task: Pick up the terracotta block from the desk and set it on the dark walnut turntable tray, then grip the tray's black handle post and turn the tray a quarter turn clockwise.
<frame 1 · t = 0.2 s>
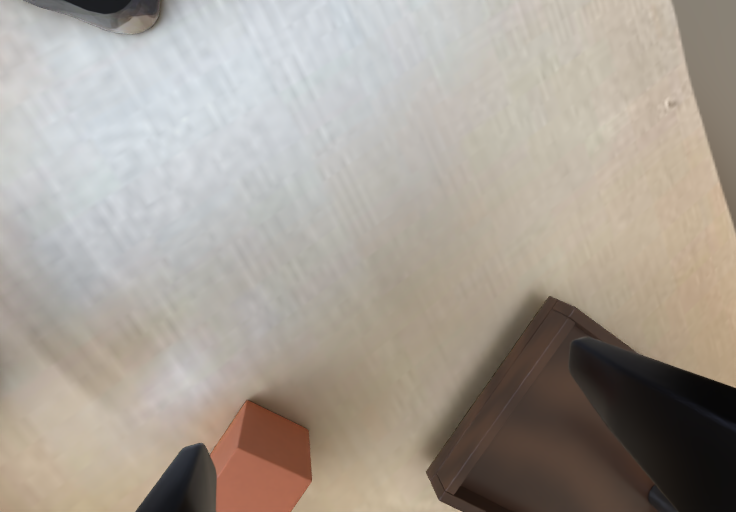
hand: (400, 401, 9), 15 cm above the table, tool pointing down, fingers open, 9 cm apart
block: (259, 443, 25), on the table
tray: (640, 492, 24), point 6 cm above the table, hinge at 0.0°
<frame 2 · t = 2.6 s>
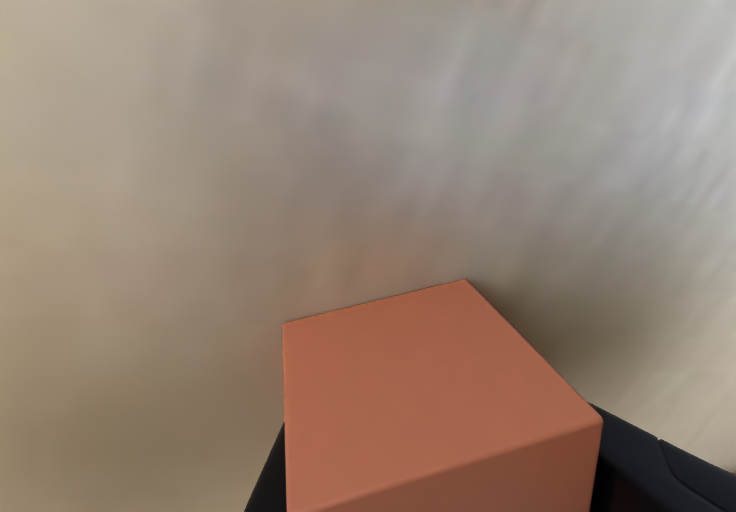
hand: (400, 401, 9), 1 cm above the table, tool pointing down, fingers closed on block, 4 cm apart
block: (388, 372, 10), on the table, touching gripper
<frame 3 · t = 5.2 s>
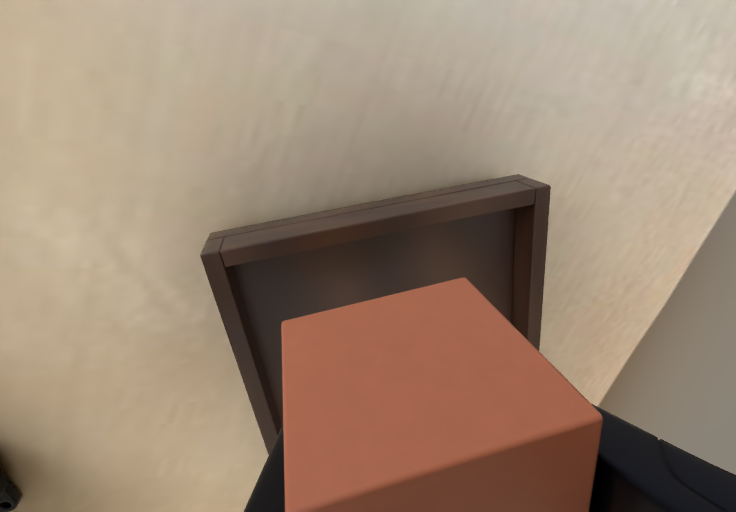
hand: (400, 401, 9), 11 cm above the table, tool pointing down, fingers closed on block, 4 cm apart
block: (387, 370, 10), point 10 cm above the table, touching gripper
tray: (421, 439, 17), point 6 cm above the table, hinge at 0.0°
when the fingers open (4 cm above the table, at t = 7.6 s): block stays where it is, resting on tray.
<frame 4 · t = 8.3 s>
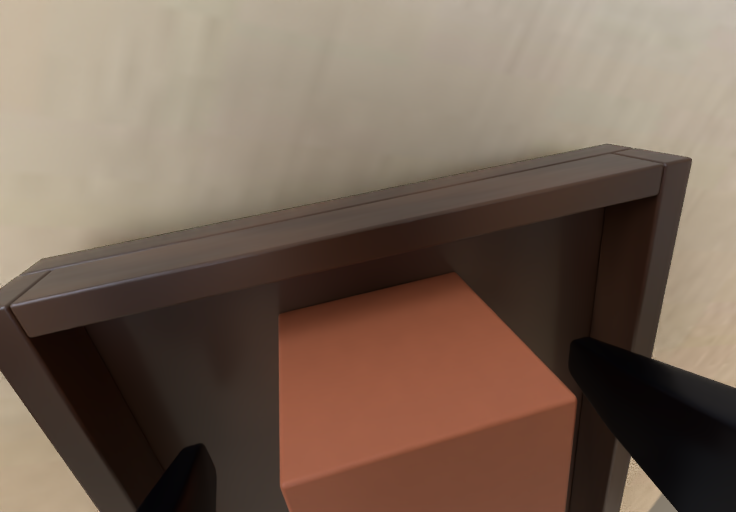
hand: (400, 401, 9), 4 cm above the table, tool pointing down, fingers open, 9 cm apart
block: (381, 362, 10), point 2 cm above the table, touching tray
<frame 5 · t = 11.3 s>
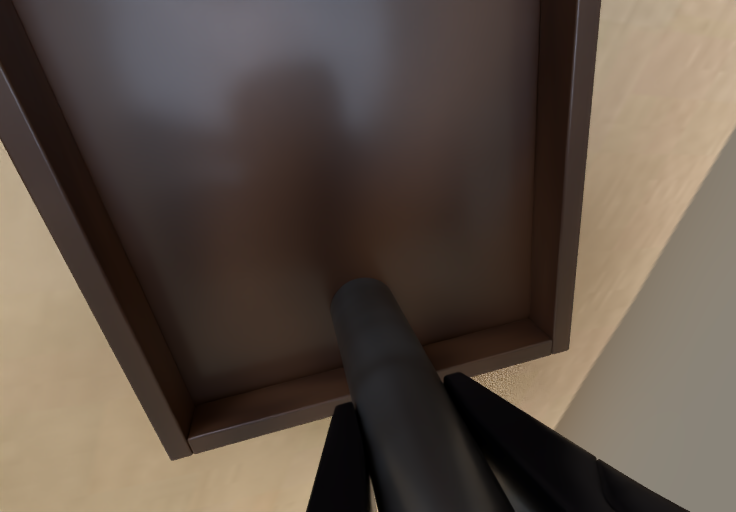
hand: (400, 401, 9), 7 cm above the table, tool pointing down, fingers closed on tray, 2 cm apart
tray: (341, 81, 7), point 6 cm above the table, hinge at -0.1°, touching block, gripper
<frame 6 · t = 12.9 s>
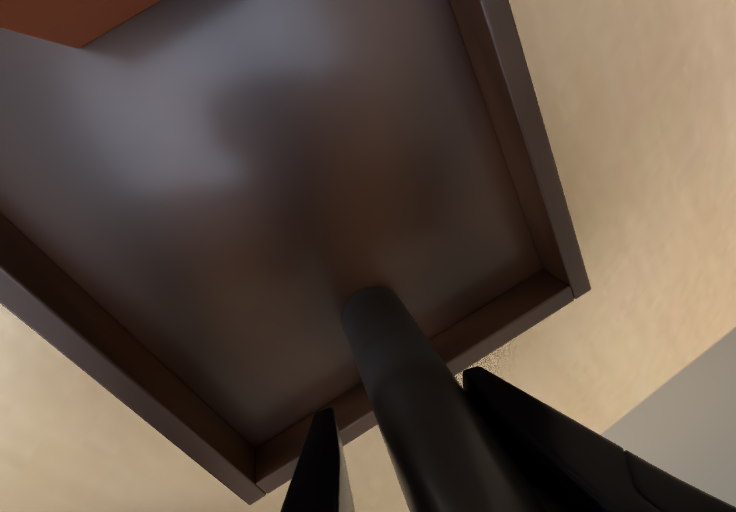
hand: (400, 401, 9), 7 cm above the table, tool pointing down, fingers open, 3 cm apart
tray: (248, 142, 7), point 6 cm above the table, hinge at -37.5°, touching block, gripper
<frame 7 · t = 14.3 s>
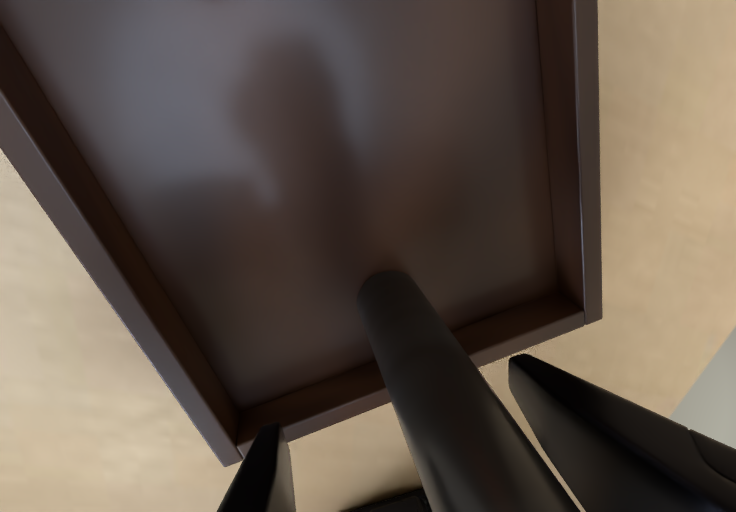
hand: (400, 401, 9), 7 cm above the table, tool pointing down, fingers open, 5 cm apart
tray: (340, 83, 7), point 6 cm above the table, hinge at -82.2°, touching block
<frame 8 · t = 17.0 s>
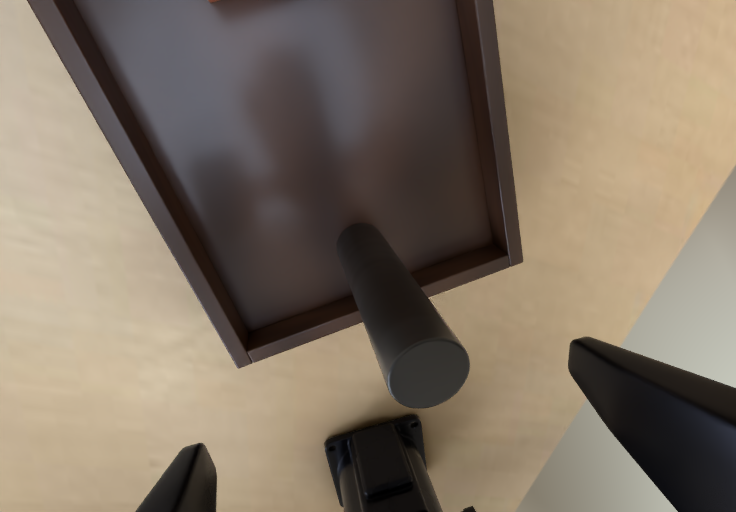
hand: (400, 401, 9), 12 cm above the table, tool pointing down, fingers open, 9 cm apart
tray: (316, 84, 12), point 6 cm above the table, hinge at -82.2°, touching block
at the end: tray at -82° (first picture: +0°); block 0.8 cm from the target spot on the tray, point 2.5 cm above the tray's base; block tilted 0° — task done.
